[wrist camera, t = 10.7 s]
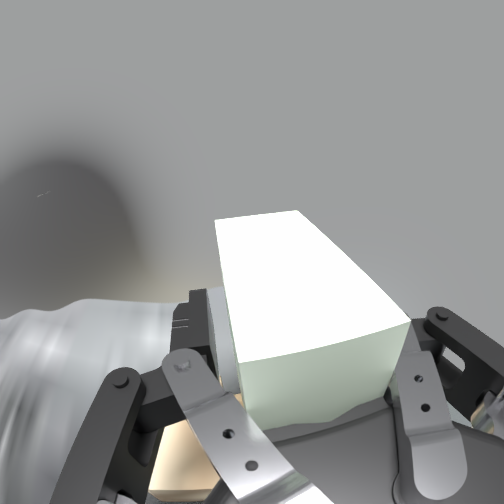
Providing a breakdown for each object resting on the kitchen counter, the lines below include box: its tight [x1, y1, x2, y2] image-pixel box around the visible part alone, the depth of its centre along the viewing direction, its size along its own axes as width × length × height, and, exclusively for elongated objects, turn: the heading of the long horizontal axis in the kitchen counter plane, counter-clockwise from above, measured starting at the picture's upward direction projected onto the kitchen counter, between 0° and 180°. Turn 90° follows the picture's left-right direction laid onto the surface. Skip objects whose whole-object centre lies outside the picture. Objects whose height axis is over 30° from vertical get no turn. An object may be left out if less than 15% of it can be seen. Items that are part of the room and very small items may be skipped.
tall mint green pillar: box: [215, 211, 411, 431], centre depth 11 cm, size 4×8×11 cm, turn 10°
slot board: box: [148, 376, 244, 502], centre depth 13 cm, size 14×7×2 cm, turn 100°
